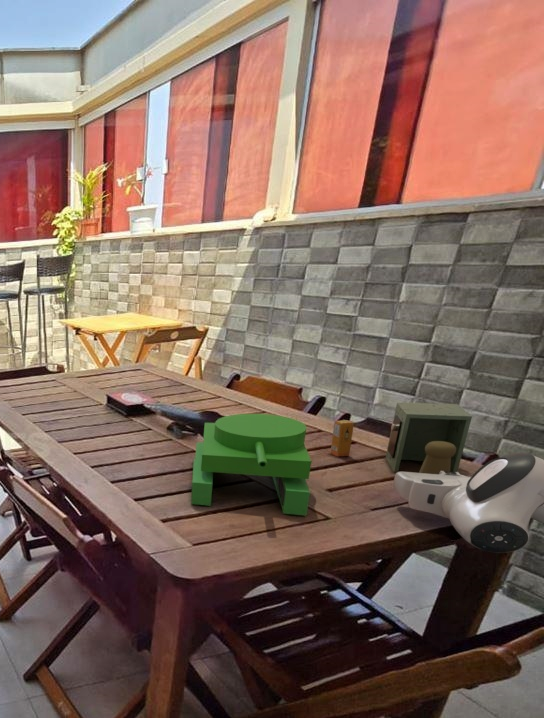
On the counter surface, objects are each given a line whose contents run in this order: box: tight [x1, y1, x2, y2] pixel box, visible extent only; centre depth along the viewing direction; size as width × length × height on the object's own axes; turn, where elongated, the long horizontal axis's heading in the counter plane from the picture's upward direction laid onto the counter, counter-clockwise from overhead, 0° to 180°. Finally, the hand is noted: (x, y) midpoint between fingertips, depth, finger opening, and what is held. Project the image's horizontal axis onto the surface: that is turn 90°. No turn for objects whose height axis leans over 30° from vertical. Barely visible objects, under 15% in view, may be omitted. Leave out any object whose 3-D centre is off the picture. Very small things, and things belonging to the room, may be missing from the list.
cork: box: [418, 441, 456, 474], centre depth 117 cm, size 6×6×11 cm
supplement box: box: [330, 419, 355, 458], centre depth 139 cm, size 3×4×10 cm
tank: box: [190, 413, 312, 517], centre depth 124 cm, size 24×35×16 cm
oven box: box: [385, 402, 473, 473], centre depth 126 cm, size 13×11×16 cm
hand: (447, 474), depth 110 cm, fingers closed
